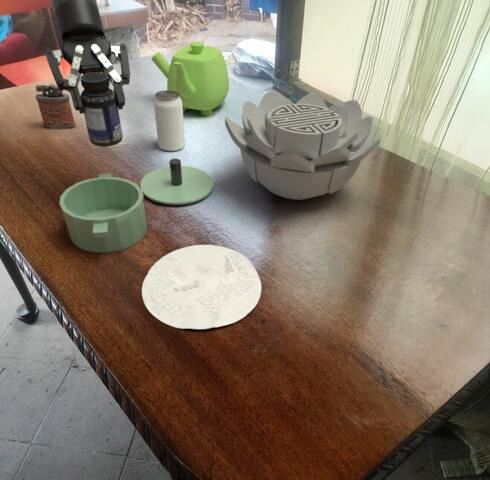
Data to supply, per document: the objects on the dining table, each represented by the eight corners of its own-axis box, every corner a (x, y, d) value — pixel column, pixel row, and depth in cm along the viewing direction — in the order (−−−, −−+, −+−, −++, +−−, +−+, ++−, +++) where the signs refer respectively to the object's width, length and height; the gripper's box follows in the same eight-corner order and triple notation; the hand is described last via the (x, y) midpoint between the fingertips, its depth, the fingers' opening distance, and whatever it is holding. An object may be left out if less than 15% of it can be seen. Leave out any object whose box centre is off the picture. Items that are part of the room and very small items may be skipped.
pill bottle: (114, 130, 88) (103, 68, 80) (128, 142, 85) (119, 79, 77) (84, 138, 85) (70, 74, 77) (97, 150, 82) (84, 85, 74)
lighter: (77, 123, 119) (67, 82, 111) (74, 129, 116) (64, 87, 109) (45, 123, 118) (34, 82, 111) (42, 129, 116) (30, 87, 109)
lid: (141, 209, 92) (137, 182, 88) (140, 172, 103) (136, 145, 98) (217, 204, 94) (217, 177, 90) (208, 168, 105) (208, 142, 100)
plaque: (209, 236, 86) (208, 229, 85) (285, 291, 77) (286, 284, 75) (119, 286, 77) (117, 279, 76) (193, 355, 68) (192, 348, 66)
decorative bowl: (320, 145, 115) (331, 81, 104) (388, 205, 96) (409, 135, 85) (208, 163, 106) (206, 96, 95) (259, 233, 88) (264, 160, 77)
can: (175, 154, 109) (170, 102, 100) (153, 147, 111) (147, 96, 102) (190, 144, 113) (187, 93, 104) (168, 138, 115) (164, 87, 106)
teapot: (171, 86, 139) (166, 26, 127) (238, 97, 135) (239, 35, 123) (133, 117, 123) (123, 51, 111) (207, 130, 118) (205, 63, 107)
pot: (64, 265, 79) (53, 231, 74) (74, 203, 93) (65, 172, 88) (148, 258, 81) (143, 225, 76) (146, 199, 95) (142, 168, 90)
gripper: (28, -1, 73) (56, 104, 74) (119, -5, 77) (143, 95, 78) (35, 28, 80) (61, 123, 81) (117, 23, 84) (140, 114, 85)
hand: (101, 109), depth 79 cm, fingers closed on pill bottle, 6 cm apart
